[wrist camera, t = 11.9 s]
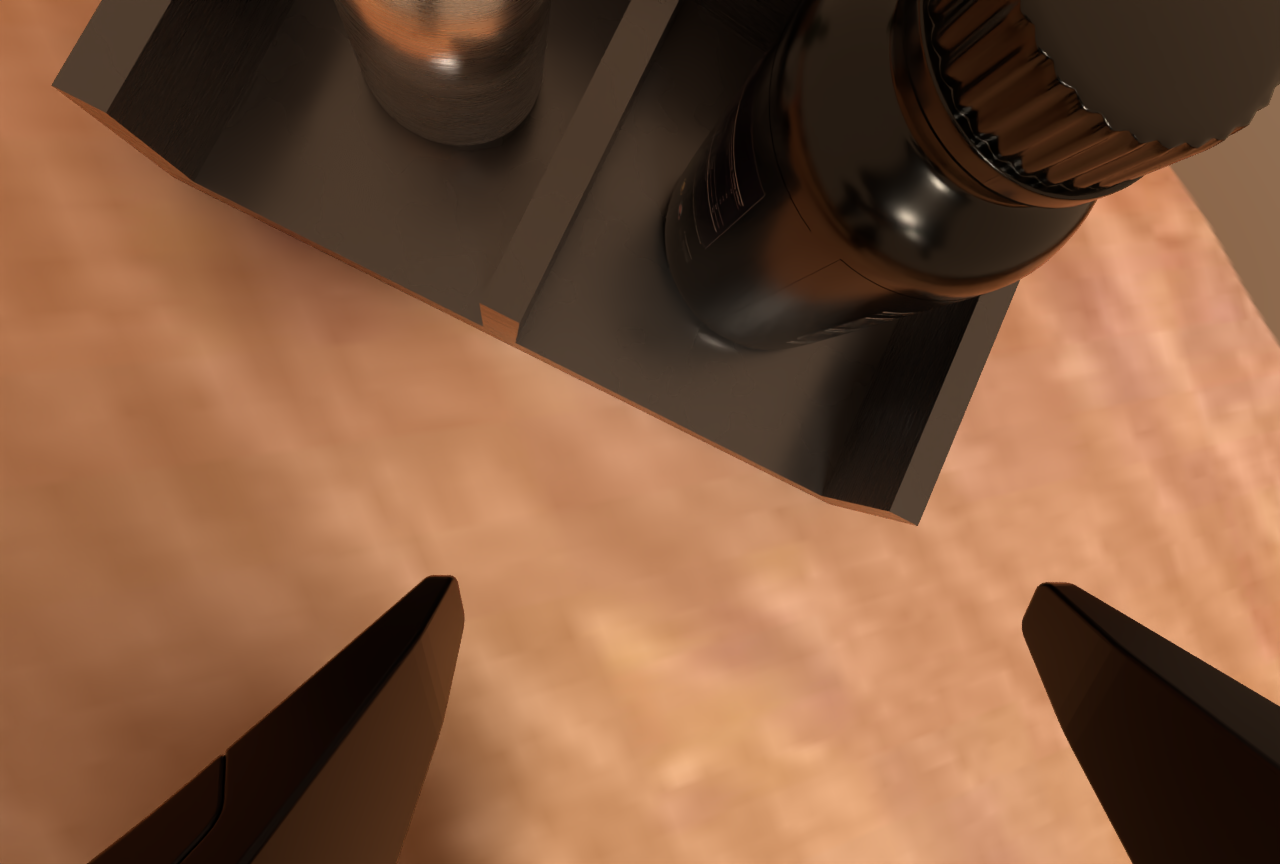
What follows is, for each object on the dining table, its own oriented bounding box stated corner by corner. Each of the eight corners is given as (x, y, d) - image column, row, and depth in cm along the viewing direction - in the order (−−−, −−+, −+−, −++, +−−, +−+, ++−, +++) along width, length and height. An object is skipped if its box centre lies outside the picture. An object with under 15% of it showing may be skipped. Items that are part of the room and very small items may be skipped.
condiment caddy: (829, 504, 21) (1027, 552, 13) (173, 177, 16) (-134, -54, 8) (967, 183, 22) (1226, 51, 14) (392, -212, 17) (304, -739, 9)
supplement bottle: (872, 175, 20) (1406, -177, 8) (832, 374, 20) (1323, 303, 8) (681, 107, 18) (1003, -451, 7) (635, 322, 18) (886, 138, 6)
